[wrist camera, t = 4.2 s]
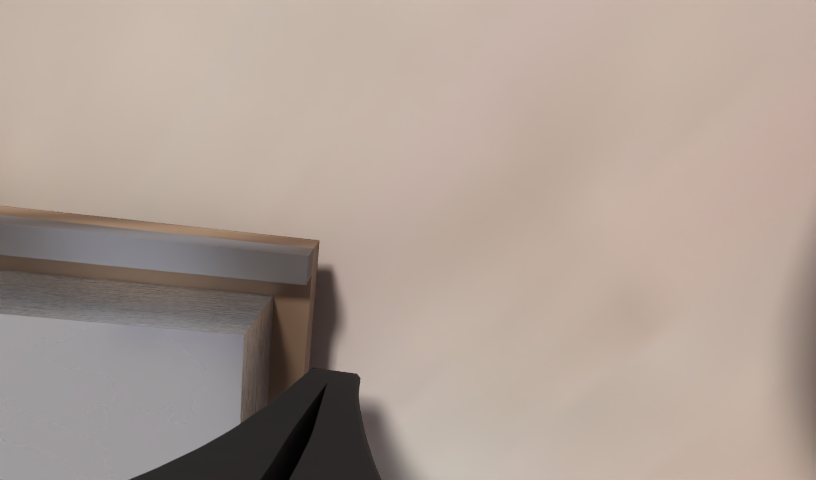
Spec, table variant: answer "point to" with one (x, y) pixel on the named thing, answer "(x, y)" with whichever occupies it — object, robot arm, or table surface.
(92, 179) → the table surface
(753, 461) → the table surface
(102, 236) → the beam
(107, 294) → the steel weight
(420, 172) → the table surface
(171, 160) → the table surface
